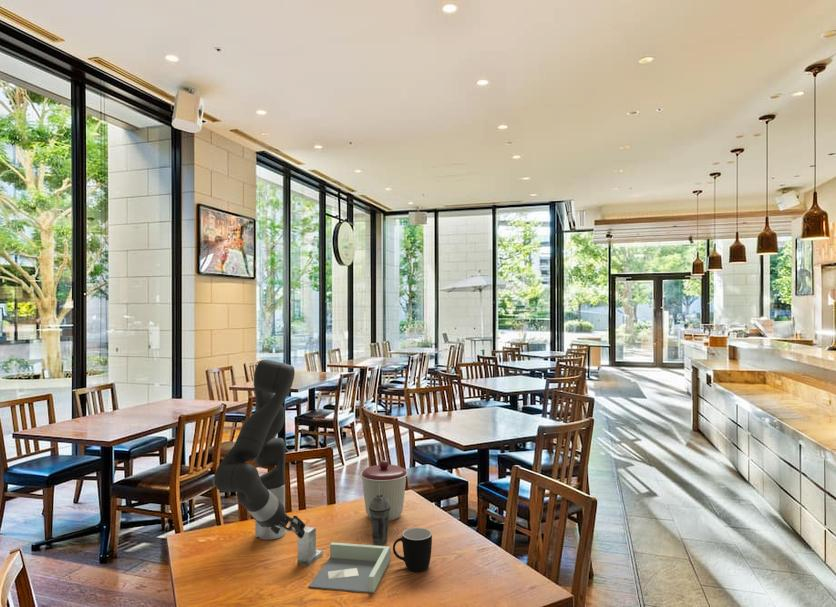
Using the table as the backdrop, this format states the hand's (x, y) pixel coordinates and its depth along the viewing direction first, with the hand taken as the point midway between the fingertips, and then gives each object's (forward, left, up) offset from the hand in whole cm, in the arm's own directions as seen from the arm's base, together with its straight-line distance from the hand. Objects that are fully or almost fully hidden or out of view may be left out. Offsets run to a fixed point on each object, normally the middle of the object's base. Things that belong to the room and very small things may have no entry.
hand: (290, 532), depth 155 cm
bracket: (+2, +10, -12) cm, 16 cm away
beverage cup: (+21, +25, -12) cm, 35 cm away
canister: (+17, +47, -12) cm, 52 cm away
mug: (+35, +10, -12) cm, 38 cm away
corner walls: (+18, +3, -12) cm, 22 cm away
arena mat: (+18, +3, -12) cm, 22 cm away
